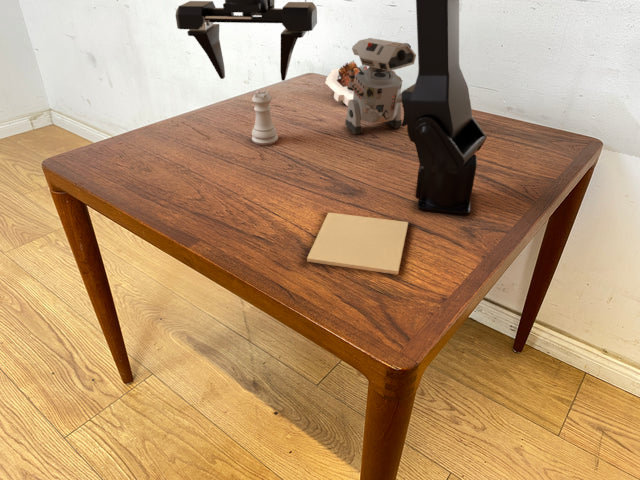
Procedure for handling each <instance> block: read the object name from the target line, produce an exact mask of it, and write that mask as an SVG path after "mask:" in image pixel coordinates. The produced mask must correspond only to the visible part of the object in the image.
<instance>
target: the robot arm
mask: <svg viewBox="0 0 640 480" xmlns="http://www.w3.org/2000/svg"><path fill="white" fill-rule="evenodd" d="M275 1H276V0H224V3H222V7H216V5H215V3H214V1H213V0H189V1H187V2H185V3H182V4H181V5H178V7H177V8H176V10H175V22H176V27H177V28H176V29H178V30H188V31H187V32H186V33H187V36H188V37H193V38H195V40H196V42H197V43H198V45H199V46H200V47H201V49H202V50H203V52H204V53H205V54H206V56H207V57H208V59H209V61H210V62H211V65H212V66H213V68H214V70H215V72H216V73H217V76H218V77H219V78H220V79H221V80H224V79H225V78H226V70H225V68H226V67H225V63H224V57H223V51H222V46H221V41H220V23H226V24H227V23H231V24H232V23H234V24H238V23H239V24H281V26H283V27H284V30H282V32H281V33H280V64H279V65H280V67H279V68H280V79H281V81H285V80H286V78H287V74H288V70H289V67H290V63H291V59H292V55H293V52H294V48H295V46H296V43H297V41H298V39H301V38H303V37H304V36H305V35H306V33H307V32H311V31H313V30H314V28H315V27H316V26H317V24H318V9H317V8H318V7H317V6H316V5H315V3H314V2H313V1H288V2H286V4H284V5H283V7H282V8H278V7H277V8H276V7H275ZM415 9H416V10H415V11H416V12H415V13H416V14H415V15H416V38H417V63H418V64H417V65H418V70H417V71H418V72H417V77H416V80H415V83H414V84H412V85H410V86H408V87H407V88H406V89H404V90H402V91H401V94H402V102H401V103H402V104H401V105H403V107H402V109H403V119H402V126H401V127H406V132H407V136H408V139H409V140H410V142H412V143H413V144H414V145H415V150H416V154H417V159H418V162H419V166H418V171H417V179H416V186H415V187H416V188H415V199H417V200H418V201H417V209H418V210H420V211H425V212H426V211H427V212H435V213H444V214H452V215H459V216H460V215H462V216H469V215H470V214H471V200H472V199H471V198H472V193H473V187H474V183H475V178H476V172H477V165H478V161H477V160H478V156H477V154H476V153H477V152H479V151H480V150H481V148H482V147H483V145H484V144H485V143H486V141H487V138H488V136H487V133H485V131H484V130H483V128H482V127H481V126H480V124H479V123H478V122H477V120H475V118H474V116H473V110H472V104H471V103H472V102H471V97H470V91H469V86H468V84H467V82H466V79H465V76H464V74H463V72H462V69H461V66H460V0H415ZM234 13H241V15H238V14H237V15H235V14H234Z"/></svg>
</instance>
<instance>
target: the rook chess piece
mask: <svg viewBox="0 0 640 480" xmlns="http://www.w3.org/2000/svg"><path fill="white" fill-rule="evenodd" d="M252 94H253V96H252V97H251V102H252V103H253V104H254V108H253V110H254V111H255V118H254V119H255V121H254V125H253V129H252V130H251V136H252V137H251V141H252V142H253V143H254V144H256V145H259V146H269V145H273V144H275V143H276V142H277V141H278V139H279V136H278V129H277V128H276V126H275V124H274V123H273V120H272V115H271V110H272V106H271V105H270V103H271V102H272V100H273V98H272V96H271V95H270V91H266V90H261V92H260V90H257V91H254V92H253V93H252Z"/></svg>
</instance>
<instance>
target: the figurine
mask: <svg viewBox="0 0 640 480" xmlns="http://www.w3.org/2000/svg"><path fill="white" fill-rule="evenodd" d="M351 50H352V53H353V55H354V56H357V57H359V61H360V63H361V66H362V65H365V66H367V68H368V69H365V70H361V69H360V68H359V67H360V66H357V67H353V68H352V70H350V71H349V82H348V88H347V89H348V90H353V91H354V94H353V100H351V101H349V104H348V106H347V109H346V118H345V125H344V126H346V127H347V129H348V130H350V131H351V132H352V133H354V135H358V134H361V133H363V128H362V123H361V122H366V123H370V124H375V123H376V124H379V123H385V122H386V123H387V124H388V125H391V127H393V128H394V129H398V128H401V127H403V126H402V122H403V119H402V108H403V104H401V103H402V86H403V79H402V77H401V76H399V75H398V74H396V72H395V70H399V69H402V68H405V67H409V66H412V65H414V64H415V61H416V58H417V54H416V52H415V51H414V50H413V49H412V46H411V45H410V43H408V42H406V43H405V42H404V43H403V42H398V41H391V40H384V39H381V38H379V39H378V38H373V37H369V38H364V39H360V40H358V41H357V42H356V43H354V45H352V48H351ZM354 68H358V69H359V70H360V71H359V72H358V73H357V74H356V76H355V70H353V69H354ZM354 78H355V80H354Z"/></svg>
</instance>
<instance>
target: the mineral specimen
mask: <svg viewBox="0 0 640 480" xmlns="http://www.w3.org/2000/svg"><path fill="white" fill-rule="evenodd" d="M353 67H359V68H360V69H361V70H365V69H368V68H369V67H368V66H365V65H362V64H361V65H360V66H358V65H357V63H356V62H355V60H354V59H353V60H352V61H350V62H349V63H348V62H346V63H345V64H344V65H342V66H340V67H339V68H333V69H332V70H331V72H330V73H329V74H328V76H327V77H326V79H325V82H324V83H325V85H327V86H328V87H329V89H331V90H332V92H334V94H333V99H334V100H335V101H336V102H337V103H338V102H339V103H340V102H342V103H343V104H345V106H347V107H348V104H349V101H351V100H353V94H354V91H353V90H348V89H347V88H348V82H349V71H350V70H352V68H353ZM353 70H355V76H356V74H357V73H358V72H359V71H360V70H359V69H358V68H354V69H353ZM354 80H355V78H354Z"/></svg>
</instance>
